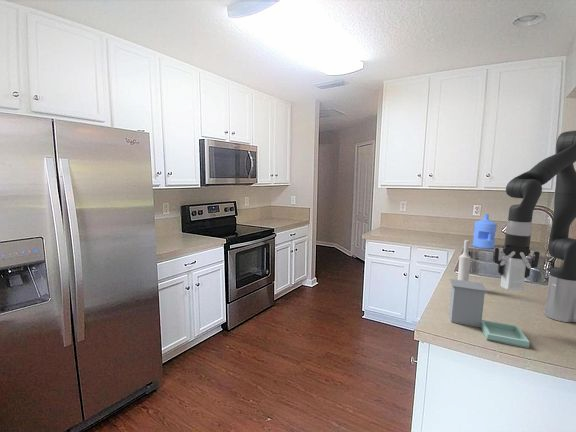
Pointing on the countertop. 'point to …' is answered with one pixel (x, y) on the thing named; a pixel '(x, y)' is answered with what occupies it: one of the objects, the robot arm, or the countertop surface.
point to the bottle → (464, 263)
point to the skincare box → (513, 274)
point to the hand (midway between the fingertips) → (513, 275)
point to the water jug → (484, 233)
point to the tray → (504, 333)
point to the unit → (466, 302)
